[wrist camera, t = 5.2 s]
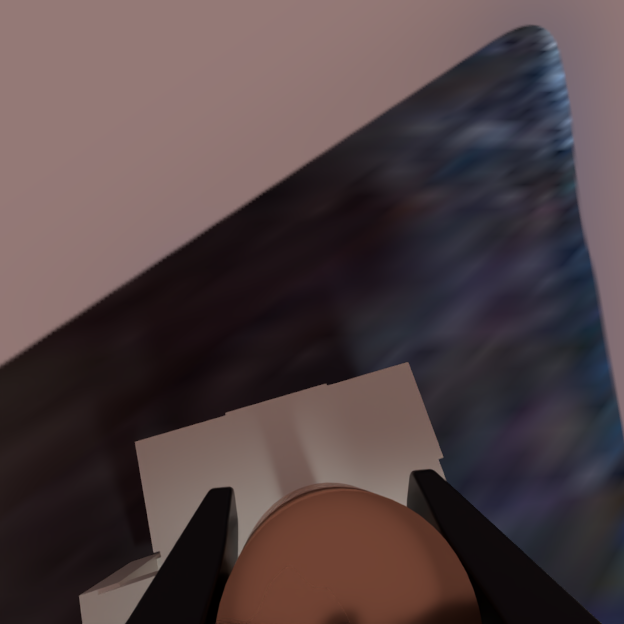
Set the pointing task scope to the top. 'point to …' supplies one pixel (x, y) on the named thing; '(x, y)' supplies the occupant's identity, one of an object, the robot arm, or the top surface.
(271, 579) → the plunger
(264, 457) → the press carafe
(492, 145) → the top surface
